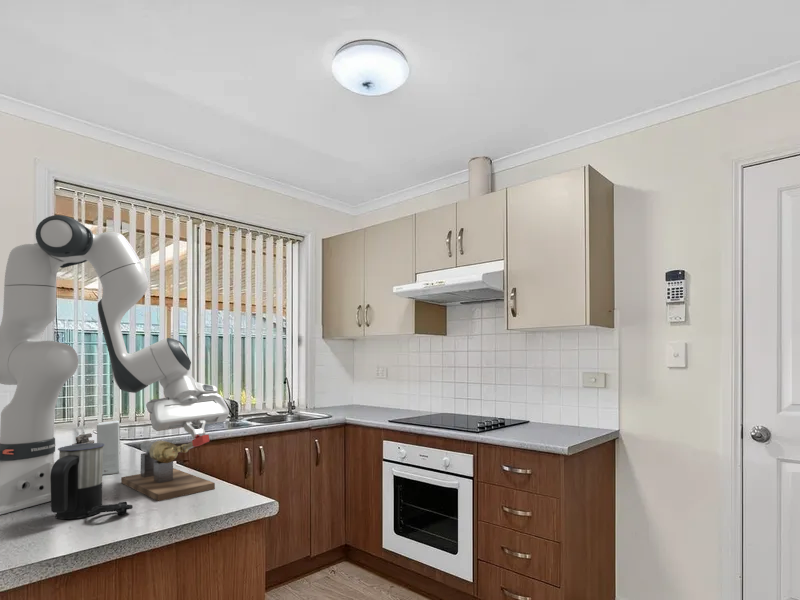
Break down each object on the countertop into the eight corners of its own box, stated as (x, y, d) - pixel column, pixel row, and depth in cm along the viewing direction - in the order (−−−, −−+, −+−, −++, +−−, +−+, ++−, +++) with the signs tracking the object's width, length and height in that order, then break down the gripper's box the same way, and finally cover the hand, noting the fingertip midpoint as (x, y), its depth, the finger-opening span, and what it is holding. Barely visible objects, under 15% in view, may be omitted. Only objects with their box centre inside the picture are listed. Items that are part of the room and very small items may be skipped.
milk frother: (61, 510, 122) (63, 444, 123) (138, 501, 127) (138, 438, 129) (43, 530, 109) (45, 455, 110) (129, 519, 114) (130, 448, 115)
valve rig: (121, 482, 146) (121, 439, 147) (172, 473, 156) (173, 432, 157) (158, 501, 127) (158, 451, 128) (214, 488, 137) (214, 442, 138)
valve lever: (179, 445, 146) (202, 434, 136) (185, 444, 147) (208, 433, 138) (180, 453, 145) (203, 443, 136) (186, 452, 147) (209, 442, 137)
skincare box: (119, 473, 158) (119, 422, 159) (95, 476, 155) (96, 424, 157) (119, 468, 165) (120, 419, 167) (97, 470, 163) (98, 421, 164)
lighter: (78, 469, 165) (78, 436, 166) (68, 469, 166) (69, 436, 167) (96, 463, 173) (97, 432, 174) (87, 463, 174) (88, 432, 175)
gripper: (147, 392, 139) (162, 435, 132) (221, 385, 154) (238, 423, 146) (141, 408, 142) (155, 450, 135) (214, 400, 157) (230, 438, 149)
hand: (199, 436), depth 141 cm, fingers closed
